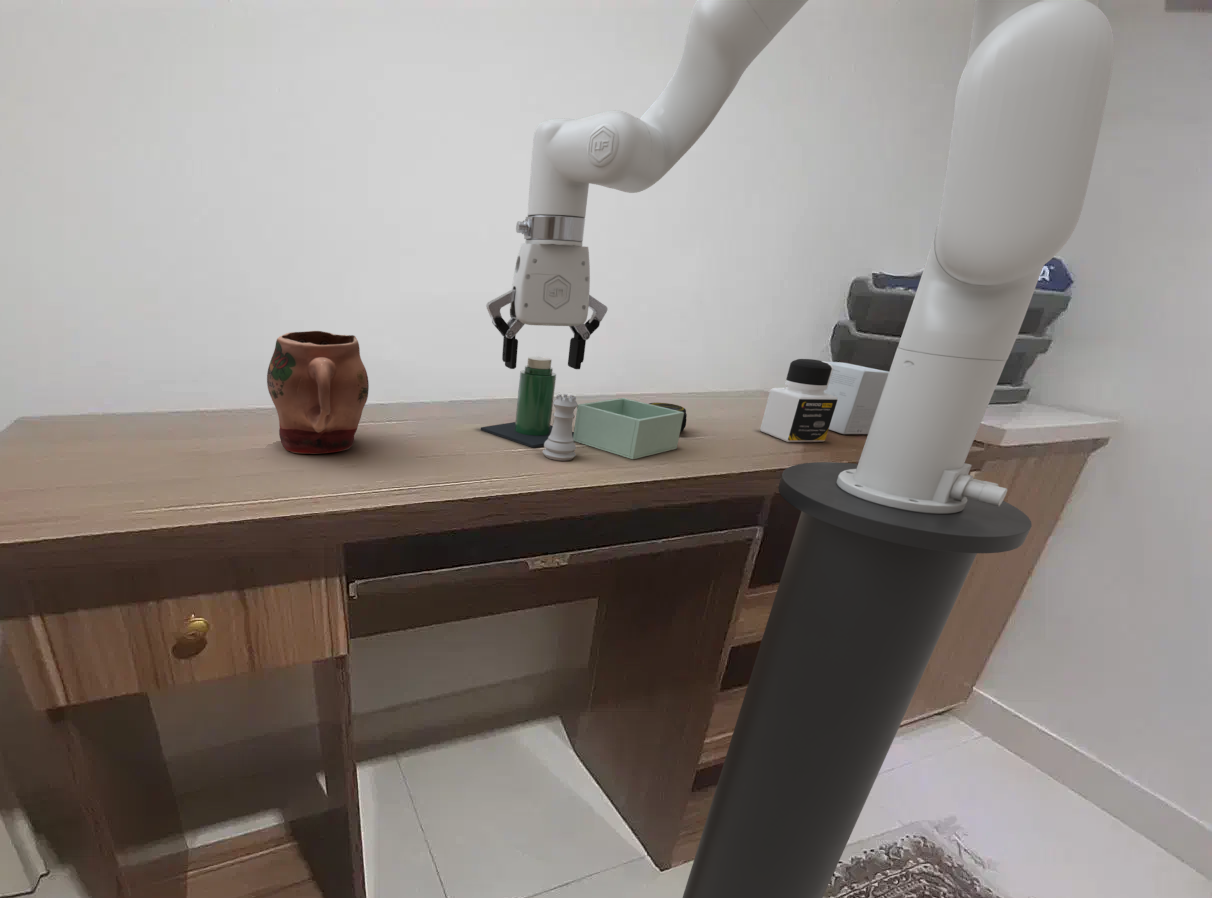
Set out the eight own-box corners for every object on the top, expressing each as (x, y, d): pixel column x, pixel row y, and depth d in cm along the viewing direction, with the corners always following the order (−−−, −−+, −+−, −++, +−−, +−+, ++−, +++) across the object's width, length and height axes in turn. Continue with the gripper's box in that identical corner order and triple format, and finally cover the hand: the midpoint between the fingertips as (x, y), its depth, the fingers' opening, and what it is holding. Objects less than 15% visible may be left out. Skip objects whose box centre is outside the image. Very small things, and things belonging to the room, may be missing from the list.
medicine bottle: (787, 442, 101) (809, 363, 96) (758, 431, 107) (778, 356, 102) (825, 442, 102) (849, 364, 97) (794, 431, 109) (815, 357, 104)
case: (676, 448, 94) (684, 412, 91) (632, 459, 87) (639, 420, 85) (617, 431, 101) (622, 397, 98) (572, 440, 94) (577, 404, 92)
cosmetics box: (874, 434, 110) (895, 371, 105) (843, 435, 108) (864, 370, 103) (827, 420, 119) (846, 361, 114) (798, 420, 117) (816, 360, 112)
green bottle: (556, 433, 96) (565, 360, 92) (532, 437, 93) (540, 362, 88) (531, 425, 100) (539, 354, 95) (507, 429, 97) (514, 356, 92)
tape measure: (638, 431, 102) (642, 407, 100) (641, 422, 108) (645, 399, 106) (683, 437, 100) (688, 413, 98) (683, 427, 106) (688, 405, 104)
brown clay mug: (387, 469, 77) (388, 348, 71) (282, 476, 73) (273, 347, 67) (351, 427, 93) (349, 326, 87) (263, 430, 89) (255, 324, 83)
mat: (584, 437, 96) (584, 435, 96) (533, 447, 89) (533, 445, 89) (531, 421, 103) (531, 419, 103) (480, 429, 97) (480, 427, 97)
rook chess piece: (535, 453, 87) (542, 393, 84) (561, 450, 89) (569, 391, 86) (555, 462, 84) (563, 400, 80) (582, 459, 86) (591, 398, 82)
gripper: (499, 229, 79) (491, 371, 87) (627, 236, 83) (609, 372, 91) (483, 230, 86) (477, 363, 93) (602, 237, 90) (587, 364, 97)
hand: (542, 367), depth 92 cm, fingers open, 9 cm apart
